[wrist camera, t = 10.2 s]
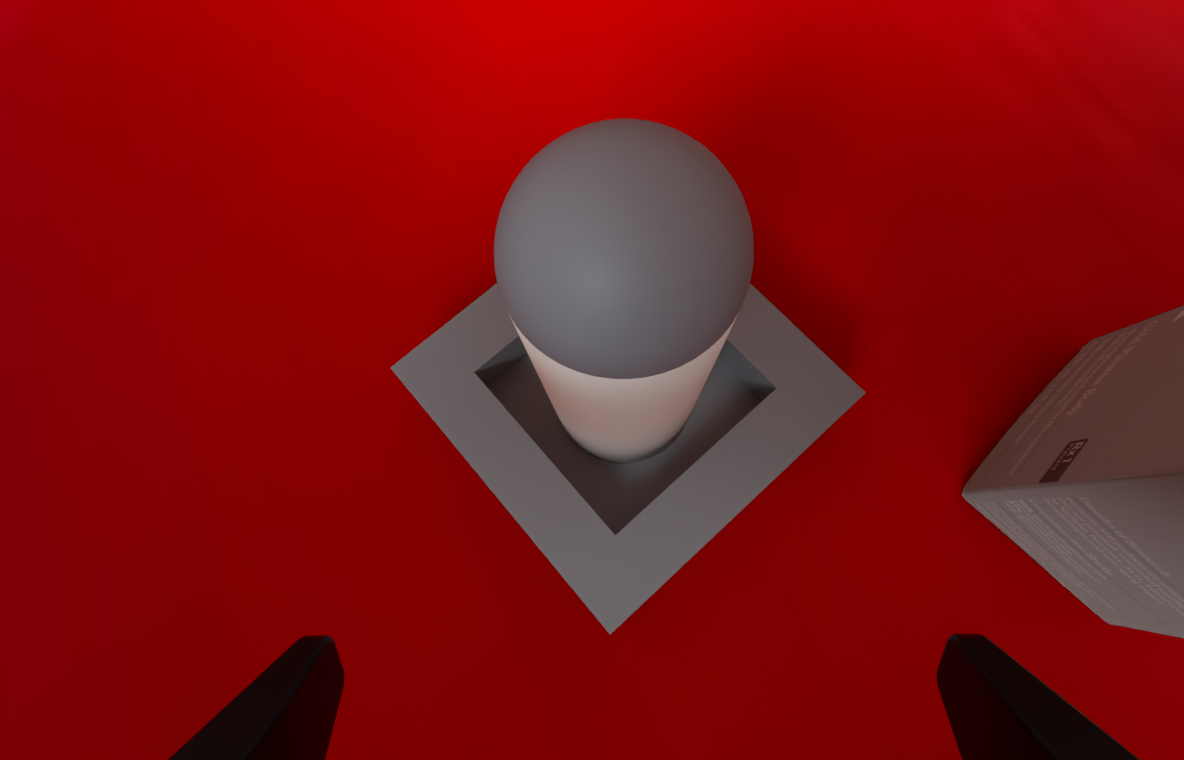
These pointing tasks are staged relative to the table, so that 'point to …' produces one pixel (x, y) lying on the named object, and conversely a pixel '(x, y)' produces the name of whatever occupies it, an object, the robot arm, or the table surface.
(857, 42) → the table surface
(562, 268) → the grey round-top peg
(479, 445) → the jig
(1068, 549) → the skincare box
